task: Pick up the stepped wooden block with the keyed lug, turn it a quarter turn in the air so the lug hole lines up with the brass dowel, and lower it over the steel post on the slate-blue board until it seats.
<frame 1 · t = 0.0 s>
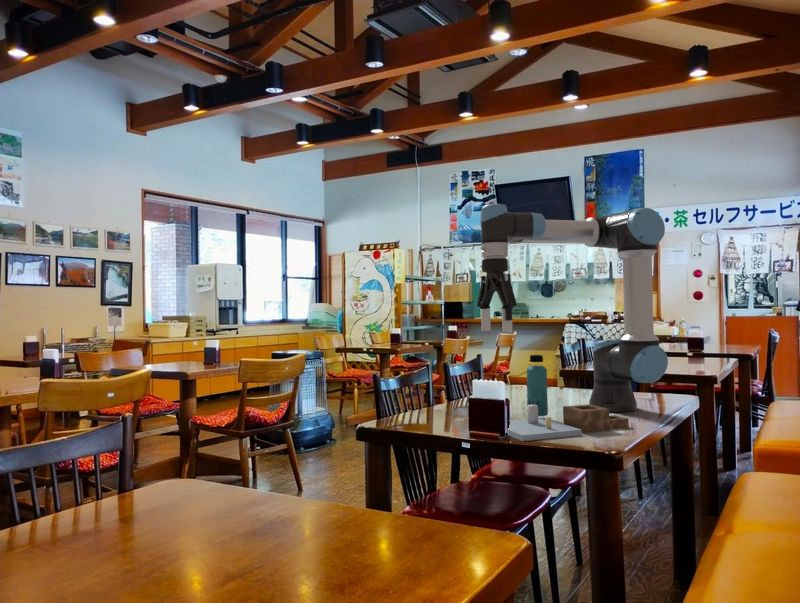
hand: (496, 331, 178), 28 cm above the table, fingers open, 13 cm apart
stepped wooden block: (611, 426, 177), on the table
beverage bottle: (537, 420, 190), on the table
post board: (534, 431, 172), on the table
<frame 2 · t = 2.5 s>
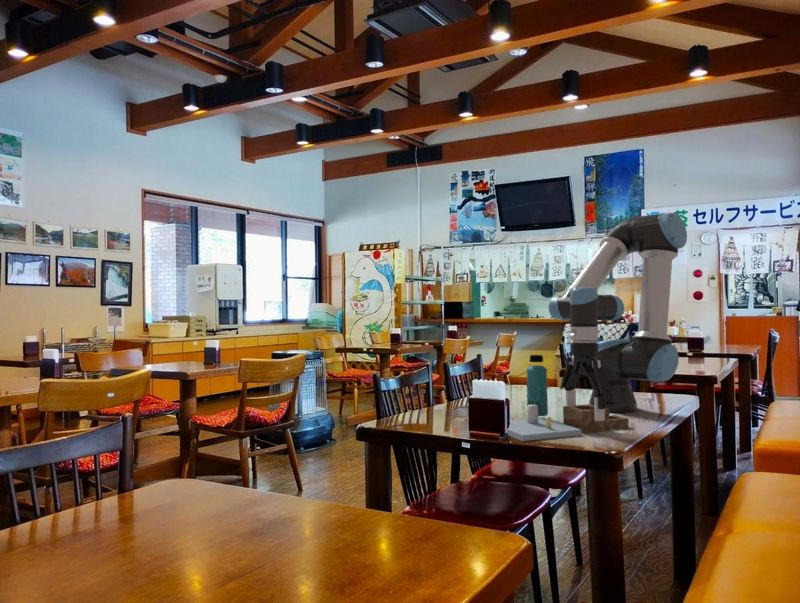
hand: (584, 416, 174), 3 cm above the table, fingers open, 13 cm apart
nothing on the table moved.
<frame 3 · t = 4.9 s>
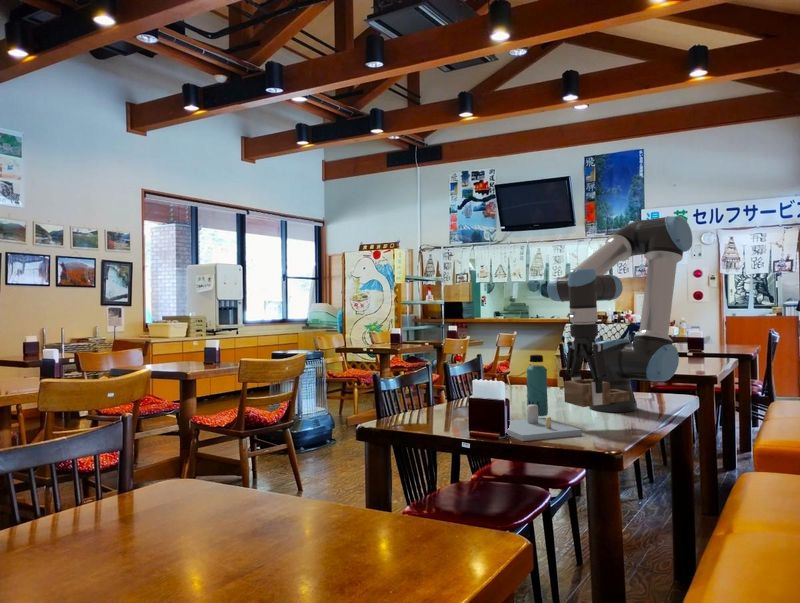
hand: (587, 401, 175), 8 cm above the table, fingers closed on stepped wooden block, 9 cm apart
stepped wooden block: (612, 400, 177), point 7 cm above the table, touching gripper
everything else where it was.
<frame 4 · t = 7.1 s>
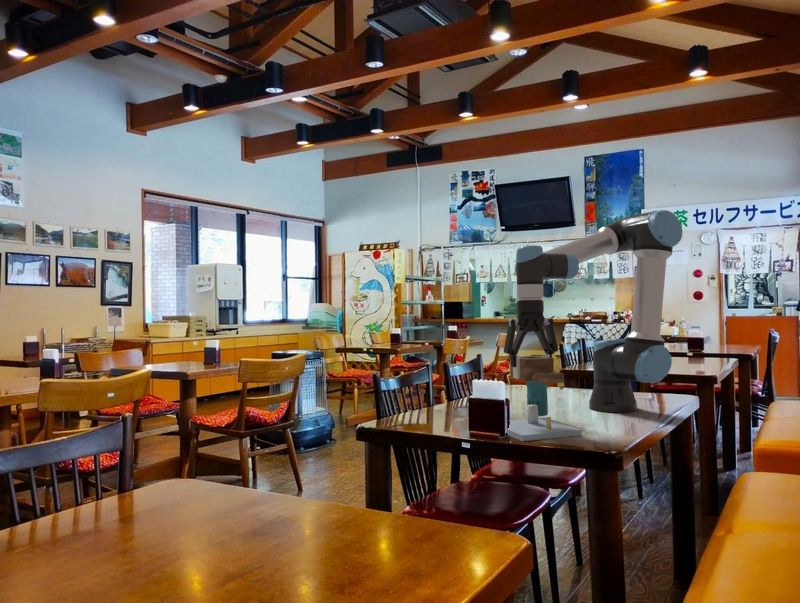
hand: (531, 377, 177), 15 cm above the table, fingers closed on stepped wooden block, 9 cm apart
stepped wooden block: (547, 381, 169), point 14 cm above the table, touching gripper
everything else where it was.
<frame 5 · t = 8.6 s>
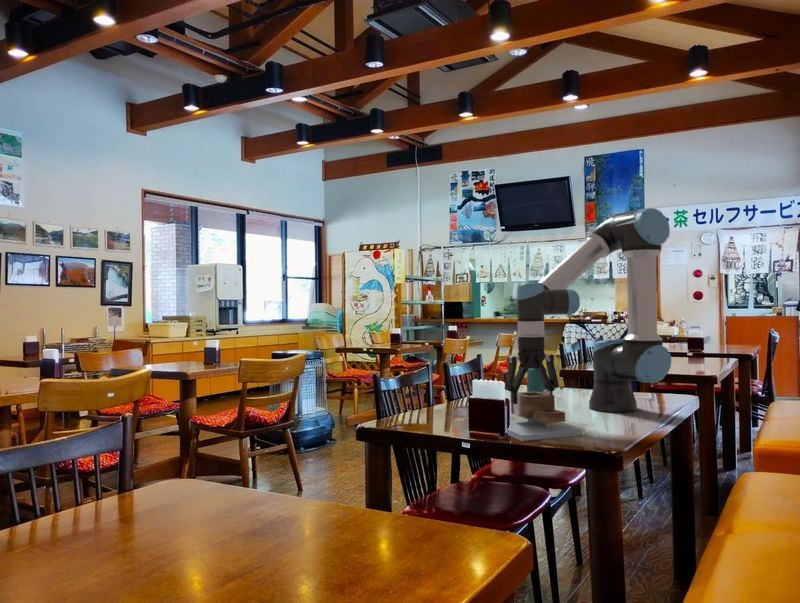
hand: (532, 414, 177), 4 cm above the table, fingers closed on stepped wooden block, 9 cm apart
stepped wooden block: (548, 420, 168), point 4 cm above the table, touching gripper
everything else where it was.
when the fingers open (2 cm above the table, at t = 9.8 s): stepped wooden block stays where it is, resting on post board.
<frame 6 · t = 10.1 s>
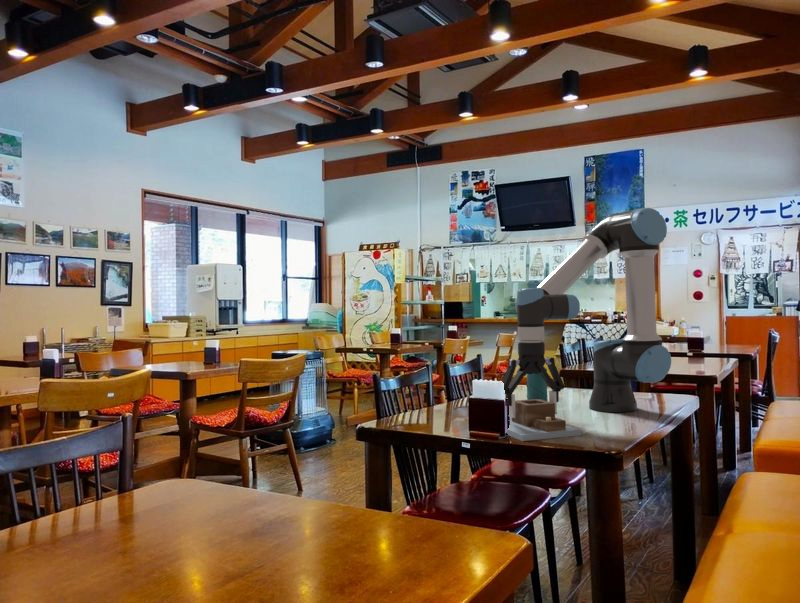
hand: (532, 415, 177), 4 cm above the table, fingers open, 13 cm apart
stepped wooden block: (549, 428, 169), point 1 cm above the table, touching post board
everything else where it was.
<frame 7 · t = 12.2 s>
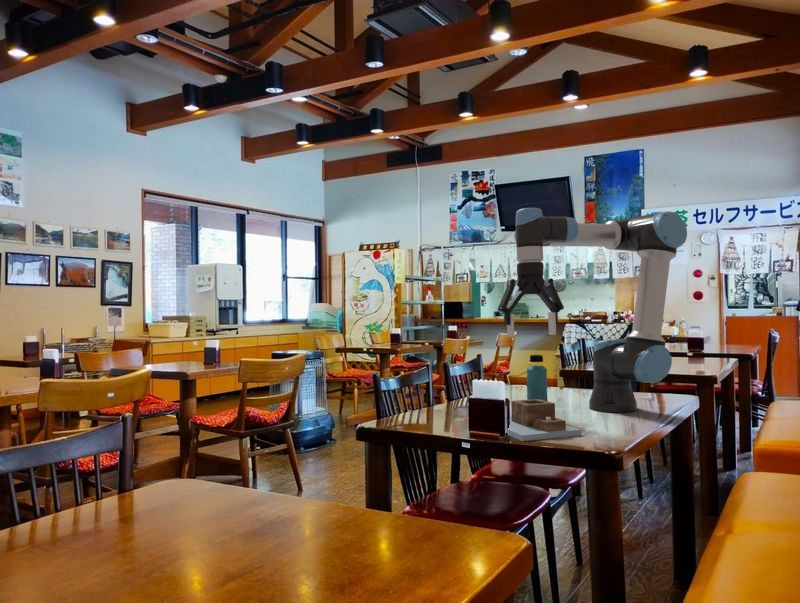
hand: (531, 335, 177), 27 cm above the table, fingers open, 13 cm apart
nothing on the table moved.
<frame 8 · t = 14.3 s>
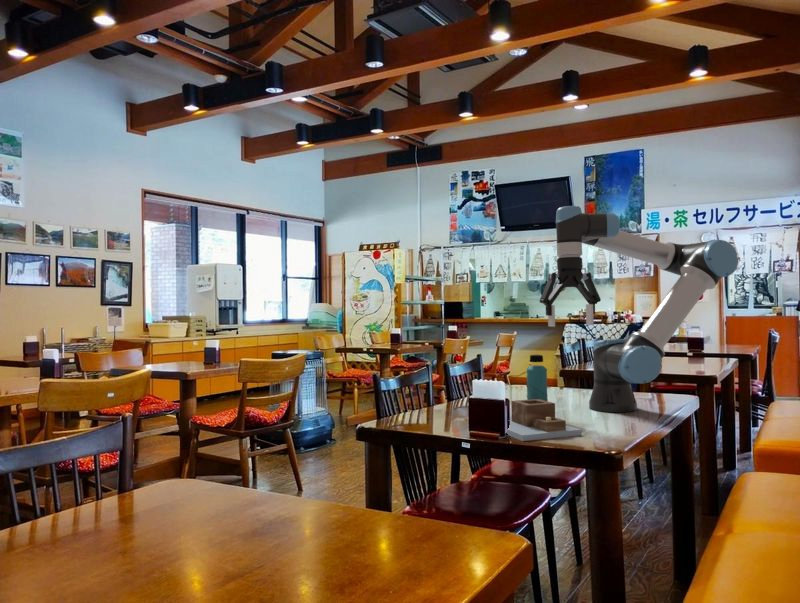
hand: (571, 325, 189), 29 cm above the table, fingers open, 13 cm apart
nothing on the table moved.
at the end: stepped wooden block 0.1 cm from the target spot, point 1.5 cm above the table; stepped wooden block tilted 0°; the gripper is holding nothing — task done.
